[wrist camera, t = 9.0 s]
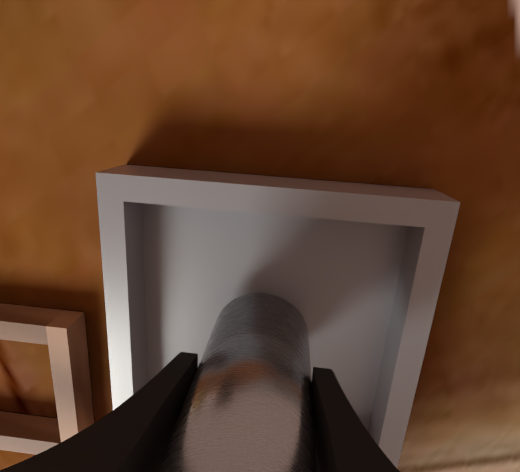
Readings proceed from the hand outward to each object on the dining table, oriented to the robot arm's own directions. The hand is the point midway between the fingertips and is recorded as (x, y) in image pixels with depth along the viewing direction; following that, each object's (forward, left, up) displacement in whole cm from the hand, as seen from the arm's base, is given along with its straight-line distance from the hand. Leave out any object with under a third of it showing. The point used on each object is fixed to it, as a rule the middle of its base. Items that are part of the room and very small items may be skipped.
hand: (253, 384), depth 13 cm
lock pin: (0, 0, -3) cm, 3 cm away
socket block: (-5, +13, -5) cm, 15 cm away
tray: (0, 0, -5) cm, 5 cm away
